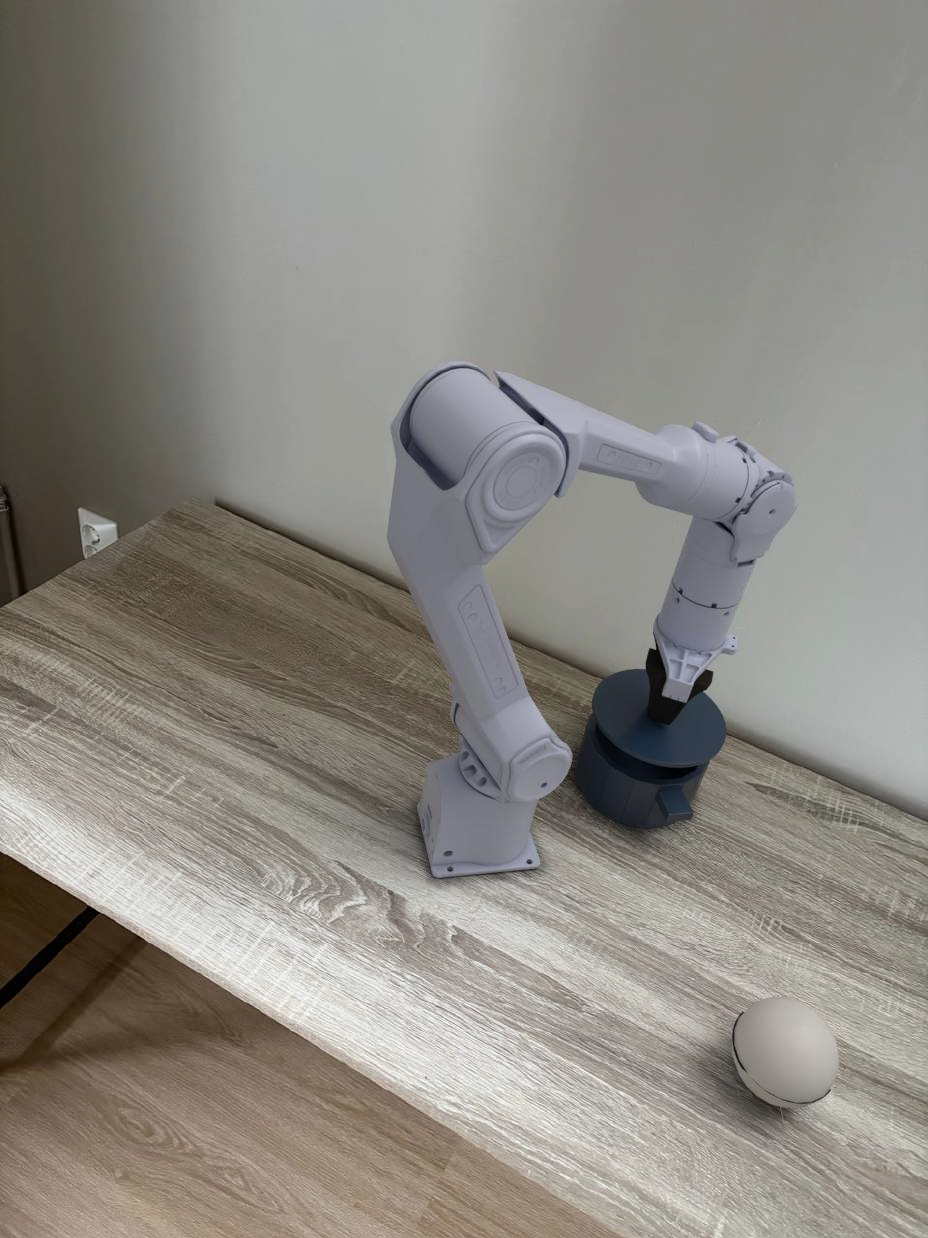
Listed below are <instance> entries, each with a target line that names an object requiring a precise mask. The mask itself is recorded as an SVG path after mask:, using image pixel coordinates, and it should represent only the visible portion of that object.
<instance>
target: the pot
mask: <svg viewBox="0 0 928 1238" xmlns="http://www.w3.org/2000/svg"><path fill="white" fill-rule="evenodd" d="M710 762H711V760H709V761H707V762H705V763H703V764H700V765H697V766H693V767H685V768H673V767H664V766H659V765H655V764H651V763H648V762H645V761H642V760H639V759H637V758H635V757H633V756H631V755H629V754H628V753H626V752H624V751H622V750H621V749H620V748H618V747H617V746H616V745H614V744H613V743H612V742H611V741H610V740H609V739H608V738H607V737H606V736H605V735H604V734H603V733H602V731H601V730H600V728H599V727H598V725H597V723H596V721H595V719H594V716H593V712H591V714H590V715H589V716H588V719H587V723H586V726H585V729H584V733H583V736H582V739H581V742H580V745H579V747H578V751H577V754H576V759H575V766H574V777H575V782H576V785H577V787H578V790H579V792H580V794H581V795H582V796H583V798H584V799H585V800H586V801H587V802H588V804H590V806H591V807H593V809H595V810H596V811H597V812H599V813H600V814H602V815H604V816H605V817H607V818H608V819H610V820H612V821H614V822H617V823H619V824H621V825H624V826H628V827H633V828H638V829H658V828H664V827H667V826H671V825H672V824H674V823H676V822H682V821H683V822H684V821H691V820H692V818H693V816H694V810H693V808H692V806H691V805H692V803H693V802H694V800H695V797H696V795H697V792H698V790H699V788H700V785H701V783H702V781H703V778H704V776H705V774H706V772H707V769H708V767H709V764H710Z"/></svg>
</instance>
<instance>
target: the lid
mask: <svg viewBox="0 0 928 1238" xmlns="http://www.w3.org/2000/svg"><path fill="white" fill-rule="evenodd" d="M649 693H650V683H649V678H648V675H647V672H646V668H630V669H624V670H619V671H617V672H614V673H612V674H610V675H608V676H607V677H605V678H604V679H602V680H601V681H600V682H599V683H598V685H597V686H596V688H595V690H594V692H593V695H592V699H591V711H592V712H591V713H593V716H594V719H595V721H596V723H597V725H598V727H599V728H600V730H601V731H602V733H603V734H604V735H605V736H606V737H607V738H608V739H609V740H610V741H611V742H612V743H613V744H614V745H616V746H617V747H618V748H620V749H621V750H622V751H624V752H626V753H628V754H629V755H631V756H633V757H635V758H637V759H639V760H642V761H645V762H648V763H651V764H655V765H659V766H664V767H673V768H685V767H693V766H697V765H700V764H703V763H705V762H707V761H709V760H710V761H711V760H712V759H714V758H715V757H716V756H717V755H718V754H719V753H720V752H721V751H722V748H723V747H724V744H725V743H726V740H727V739H726V738H727V723H726V721H725V717H724V715H723V713H722V711H721V709H720V708H719V707H718V705H717V704H716V702H715V701H714V700H713V699H712V698H711V697H710V696H709V695H708V694H707V693H706V692H705V691H703V692H701V693H699V694H698V695H696V696H695V697H693V698H692V699H691V700H690V701H689V702H688V703H687V704H686V705H685V707H684V708H683V709H682V711H681V712H680V713H679V715H678V716H677V717H676V719H675V720H674V721H673V722H672V723H671V724H670V725H666V724H663V723H660V722H657V721H654V720H650V719H648V715H647V710H648V701H649Z"/></svg>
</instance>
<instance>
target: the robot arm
mask: <svg viewBox="0 0 928 1238" xmlns="http://www.w3.org/2000/svg"><path fill="white" fill-rule="evenodd" d="M493 374H494V376H495V378H496V380H497V382H498V385H499V386H497V385H496V384H495V383H493V381H492V380H491V378H490V377H489V375H488V374H487V372H485V371H484V370H483V369H482V368H481V367H480V366H478V365H477V364H474V363H471V362H468V361H464V360H451V361H447V362H444V363H441V364H439V365H437V366H434V367H433V368H431V369H430V370H428V371H427V372H426V373H424V374H423V375H422V376H421V377H420V378H419V379H418V380H417V382H415V384H414V385H413V387H412V388H411V390H410V391H409V393H408V395H406V396H407V397H406V398H405V399H404V401H403V403H402V406H400V408H399V410H398V412H397V413H396V415H395V417H394V418H393V420H392V421H391V423H390V433H391V439H392V443H393V445H392V446H393V450H394V454H395V460H396V461H395V470H394V477H393V485H392V492H391V500H390V507H389V516H388V523H387V531H386V539H387V543H388V547H389V551H390V552H391V555H392V557H393V558H394V561H395V562H396V565H397V568H398V569H399V571H400V573H401V575H402V578H403V580H404V582H405V584H406V586H407V589H408V591H409V593H410V595H411V597H412V599H413V601H414V604H415V606H416V608H417V610H418V612H419V614H420V616H421V618H422V621H423V623H424V624H425V627H426V629H427V631H428V634H429V636H430V638H431V640H432V642H433V644H434V647H435V649H436V651H437V653H438V655H439V657H440V659H441V662H442V664H443V665H444V668H445V670H446V673H447V674H448V677H449V679H450V681H451V682H450V683H449V685H448V690H449V692H450V694H451V704H450V710H449V712H450V713H449V717H450V721H451V723H452V724H453V726H454V728H455V729H457V730H458V731H459V732H460V733H459V738H458V745H459V748H460V750H459V751H457V752H456V753H454V754H452V755H450V756H446V757H444V758H440V759H435V760H430V761H429V762H428V763H427V765H426V767H425V774H424V779H423V786H422V791H421V795H420V801H419V802H418V803H417V805H416V811H417V816H418V819H419V823H420V827H421V832H422V836H423V841H424V844H425V848H426V849H425V850H426V854H427V857H428V861H429V866H430V871H431V874H432V876H433V877H434V878H438V879H439V878H450V877H451V878H452V877H461V876H470V875H471V876H472V875H482V874H483V875H484V874H492V873H503V872H513V871H514V872H515V871H525V870H535V869H538V868H540V866H541V859H540V856H539V853H538V850H537V848H536V844H535V841H534V839H533V836H532V832H531V827H532V824H533V820H534V817H535V813H536V810H537V806H538V802H539V800H540V799H542V798H545V797H546V796H547V795H550V793H552V792H554V790H556V789H557V788H558V787H559V786H560V785H561V784H562V782H563V781H564V780H565V778H566V777H567V775H568V773H569V770H570V769H571V765H572V762H573V752H572V749H571V748H570V747H569V745H568V744H567V743H566V742H564V741H562V740H561V738H560V736H558V734H556V732H555V731H554V730H553V728H552V727H551V726H550V725H549V723H548V722H547V721H546V719H545V718H544V716H543V715H542V713H541V712H540V710H539V708H538V707H537V705H536V703H535V702H534V700H533V699H532V697H531V695H530V693H529V691H528V690H529V689H528V688H527V685H526V683H525V679H524V677H523V674H522V671H521V669H520V667H519V664H518V661H517V658H516V655H515V653H514V650H513V647H512V644H511V642H510V639H509V636H508V634H507V631H506V628H505V625H504V623H503V620H502V617H501V614H500V612H499V610H498V606H497V604H496V601H495V598H494V596H493V593H492V590H491V588H490V585H489V582H488V579H487V577H486V573H485V570H484V568H483V566H486V565H488V564H489V563H490V562H491V561H492V560H493V559H494V558H495V557H496V556H497V554H499V553H500V551H501V550H503V548H504V547H506V546H507V544H509V543H510V542H511V540H513V539H514V538H515V536H517V534H518V533H520V531H522V530H523V529H524V527H526V526H527V524H528V523H530V521H531V520H533V519H534V517H536V516H537V515H538V513H540V512H541V510H543V508H544V507H545V506H546V505H547V504H548V502H549V501H550V500H551V499H552V498H553V496H554V497H555V498H556V499H561V498H563V497H565V496H566V495H567V493H568V491H569V489H570V488H571V486H572V484H573V482H574V480H575V478H576V475H577V473H578V470H579V471H583V472H587V473H593V474H597V475H602V476H606V477H611V478H615V479H619V480H623V481H629V482H632V483H633V482H634V484H635V487H636V491H637V492H638V494H639V495H640V496H641V498H642V499H643V500H645V501H646V502H647V503H649V504H651V505H653V506H656V507H660V508H663V509H666V510H667V509H668V510H670V511H675V512H678V513H681V514H685V515H687V516H691V517H692V518H691V522H690V524H689V527H688V530H687V533H686V536H685V539H684V542H683V545H682V548H681V551H680V554H679V556H678V559H677V562H676V565H675V567H674V571H673V574H672V576H671V579H670V582H669V586H668V588H667V591H666V594H665V597H664V600H663V603H662V606H661V608H660V611H659V612H658V613H657V615H656V617H655V619H654V622H653V625H652V630H653V631H652V635H653V639H654V643H655V648H652V647H649V648H648V650H647V654H646V659H645V669H646V672H647V675H648V678H649V683H650V693H649V701H648V710H647V715H648V719H650V720H654V721H657V722H660V723H663V724H666V725H670V724H671V723H672V722H673V721H674V720H675V719H676V717H677V716H678V715H679V713H680V712H681V711H682V709H683V708H684V707H685V705H686V704H687V703H688V702H689V701H690V700H691V699H692V698H693V697H695V696H696V695H698V694H699V693H701V692H705V691H707V690H708V689H709V687H710V686H711V685H712V683H713V678H714V670H710V669H708V668H709V666H711V665H712V663H713V662H714V661H715V660H716V659H717V658H718V657H719V656H720V655H721V654H725V655H729V656H733V655H735V654H736V653H737V650H738V647H739V638H738V637H737V636H736V635H734V634H731V633H729V630H730V627H731V625H732V623H733V621H734V618H735V615H736V612H737V610H738V608H739V605H740V603H741V600H742V599H743V596H744V593H745V591H746V588H747V585H748V583H749V581H750V578H751V576H752V573H753V570H754V568H755V566H756V563H757V561H758V559H761V558H763V557H764V556H765V554H766V553H767V552H769V550H770V548H771V546H772V543H773V541H774V539H775V538H776V536H777V534H779V532H780V531H781V530H782V529H783V528H784V527H785V526H786V525H787V524H788V522H789V521H790V520H791V519H792V517H793V515H794V514H795V513H796V510H797V509H798V507H799V504H798V503H796V500H797V491H796V489H795V483H794V482H793V478H792V476H791V475H789V473H787V472H786V471H784V470H783V469H782V468H781V467H779V466H777V465H776V464H775V463H774V462H772V461H770V460H769V459H768V458H766V457H765V456H764V455H762V454H761V453H760V452H758V451H757V450H756V449H755V448H754V447H753V446H752V445H750V444H749V443H747V442H745V441H742V440H740V439H738V437H737V436H736V435H727V436H724V437H721V438H719V437H720V433H719V432H717V431H716V430H715V429H713V428H712V427H710V426H709V425H707V424H706V423H704V422H702V421H695V422H694V423H693V425H692V427H691V428H690V427H688V426H685V425H682V424H678V423H677V424H676V423H671V424H666V425H663V426H661V427H659V428H657V429H655V430H654V431H652V432H650V431H647V430H644V429H643V428H640V427H637V426H636V425H633V424H631V423H629V422H626V421H624V420H621V419H619V418H616V417H615V416H612V415H610V414H608V413H606V412H603V411H600V410H598V409H596V408H594V407H591V406H589V405H587V404H584V403H582V402H580V401H577V400H575V399H573V398H571V397H569V396H566V395H563V394H561V393H559V392H557V391H554V390H552V389H549V388H546V387H545V386H542V385H539V384H537V383H535V382H532V381H530V380H527V379H525V378H522V377H520V376H518V375H515V374H513V373H511V372H505V371H498V370H493ZM449 870H450V871H449Z"/></svg>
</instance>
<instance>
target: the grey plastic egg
mask: <svg viewBox="0 0 928 1238" xmlns="http://www.w3.org/2000/svg"><path fill="white" fill-rule="evenodd" d="M838 1047H839V1046H838V1042H837V1040H836V1037H835V1034H834V1032H833V1030H832V1028H831V1026H830V1025H829V1023H828V1022H827V1021H826V1020H825V1018H824V1017H823V1015H821V1014H820V1013H819V1012H818V1011H817V1010H816V1009H814V1008H813V1007H812V1006H810V1005H809V1004H807V1003H805V1002H803V1001H802V1000H799V999H795V998H791V997H788V996H771V997H765V998H763V999H760V1000H758V1001H756V1002H753V1003H752V1004H751V1005H750V1006H749V1007H748V1008H747V1009H746V1010H745V1011H741V1013H740V1014H738V1016H737V1018H736V1019H735V1022H734V1024H733V1027H732V1033H731V1055H732V1059H733V1061H734V1064H735V1067H736V1070H737V1073H738V1076H739V1077H740V1078H741V1080H742V1081H743V1083H744V1085H745V1086H746V1088H748V1089H749V1090H750V1092H752V1093H753V1094H754V1095H755V1096H756V1097H757V1098H759V1099H761V1100H762V1101H764V1102H765V1103H767V1104H769V1105H773V1106H776V1107H780V1109H782V1108H786V1109H796V1108H799V1109H800V1108H806V1107H808V1106H810V1105H812V1104H814V1103H817V1102H820V1100H822V1099H824V1098H825V1097H827V1096H828V1095H829V1094H830V1092H831V1091H832V1089H831V1088H832V1087H833V1086H834V1083H835V1080H836V1078H837V1074H838V1070H839V1067H840V1056H839V1048H838ZM780 1112H781V1113H780V1114H781V1117H782V1123H783V1124H785V1120H784V1115H783V1111H782V1110H780ZM783 1129H784V1134H785V1138H786V1140H787V1139H788V1136H787V1132H786V1127H785V1125H783Z"/></svg>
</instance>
